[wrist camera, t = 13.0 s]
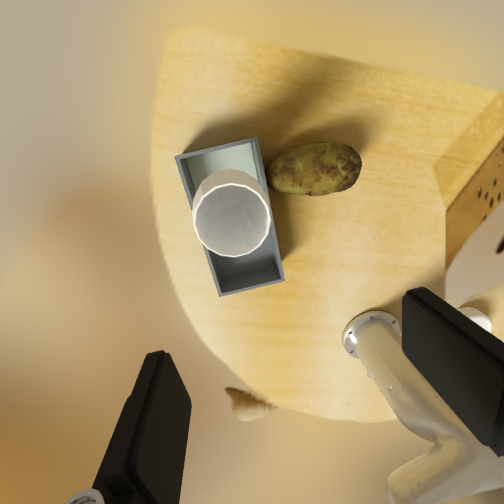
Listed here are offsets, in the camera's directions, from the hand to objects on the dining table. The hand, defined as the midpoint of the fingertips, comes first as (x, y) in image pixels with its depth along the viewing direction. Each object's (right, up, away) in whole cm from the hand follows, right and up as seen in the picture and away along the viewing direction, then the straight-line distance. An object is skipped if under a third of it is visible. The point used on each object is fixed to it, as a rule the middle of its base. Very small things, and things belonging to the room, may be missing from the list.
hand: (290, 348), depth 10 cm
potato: (+7, +17, +31) cm, 36 cm away
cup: (-5, +14, +29) cm, 33 cm away
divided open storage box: (-4, +10, +32) cm, 34 cm away
